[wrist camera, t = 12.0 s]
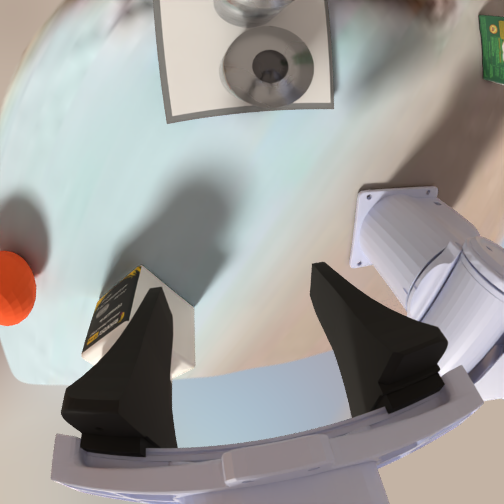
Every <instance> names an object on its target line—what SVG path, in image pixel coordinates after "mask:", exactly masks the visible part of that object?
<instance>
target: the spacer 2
mask: <svg viewBox="0 0 504 504" xmlns="http://www.w3.org/2000/svg"><path fill="white" fill-rule="evenodd" d="M313 75H314V62H313V58H312V55H311V52H310V50H309V48H308V47H307V45H306V44H305V43H304V42H303V41H302V40H301V39H300V38H299V37H298V36H297V35H295V34H294V33H292V32H290V31H288V30H286V29H283V28H280V27H275V26H260V27H255V28H252V29H250V30H247V31H245V32H244V33H242V34H240V35H239V36H238V37H237V38H236V39H235V40H234V41H233V42H232V43H231V45H230V46H229V48H228V49H227V51H226V53H225V54H224V56H223V58H222V60H221V62H220V66H219V76H220V80H221V82H222V85H223V86H224V88H225V89H226V90H227V91H228V92H229V93H230V94H231V95H233V96H234V97H236V98H238V99H240V100H243V101H245V102H247V103H249V104H252V105H254V106H257V107H262V108H279V107H284V106H287V105H289V104H291V103H293V102H295V101H297V100H298V99H299V98H300V97H302V96H303V95H304V94H305V92H306V91H307V90H308V88H309V86H310V84H311V82H312V79H313Z"/></svg>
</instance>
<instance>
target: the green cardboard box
mask: <svg viewBox="0 0 504 504" xmlns="http://www.w3.org/2000/svg"><path fill="white" fill-rule="evenodd" d="M479 20H480V32H481V38H482V50H483V79H484V80H487V81H491V82H494V83H497V84H500V85H503V86H504V17H499V16H489V15H479Z"/></svg>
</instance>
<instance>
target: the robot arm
mask: <svg viewBox="0 0 504 504" xmlns="http://www.w3.org/2000/svg"><path fill="white" fill-rule="evenodd" d="M426 192H427V193H426ZM369 194H370V196H369V197H368V198H367V196H368V195H369ZM437 195H438V188H437V187H435V186H425V187H406V188H390V189H375V190H363V191H360V192H359V193H358V196H357V206H356V215H355V224H354V232H353V240H352V247H351V255H350V261H349V265H350V266H351V268H358V267H363V266H368V265H373V266H374V267H375V268H376V270H377V271H378V272H379V274H380V275H381V276H382V278H383V279H384V280H385V282H386V283H387V285H388V286H389V287H390V289H391V290H392V291H393V293H394V294H395V296H396V297H397V298H398V300H399V301H400V303H401V304H402V305H403V307H404V308H405V310H406V311H407V316H404V315H402V314H400V313H398V312H395V311H393V310H391V309H389V308H387V307H386V306H384V305H382V304H380V303H379V302H377V301H375V300H373V299H372V298H370V297H369V296H367V295H366V294H364V293H363V292H362V291H360V290H359V289H357V288H356V287H355V286H353V285H352V284H351V283H349V282H348V281H347V280H346V279H344V278H343V277H342V276H341V275H339V274H338V273H337V272H336V271H335V270H333V269H332V268H331V267H330V266H329V265H327V264H326V263H325V262H320V263H314V264H312V273H311V287H310V297H311V300H312V303H313V306H314V309H315V312H316V315H317V317H318V319H319V321H320V323H321V325H322V327H323V330H324V332H325V334H326V336H327V338H328V340H329V342H330V344H331V346H332V349H333V351H334V354H335V357H336V359H337V362H338V366H339V369H340V372H341V376H342V379H343V383H344V386H345V390H346V394H347V398H348V402H349V406H350V411H351V415H352V418H350V419H347V420H344V421H341V422H338V423H334V424H331V425H327V426H323V427H319V428H315V429H311V430H307V431H304V432H299V433H294V434H290V435H285V436H280V437H275V438H270V439H264V440H258V441H251V442H244V443H237V444H229V445H219V446H208V447H192V448H178V447H177V442H176V436H175V429H174V422H173V414H172V403H171V388H170V371H171V358H172V346H173V316H172V313H171V310H170V308H169V305H168V302H167V299H166V297H165V294H164V291H163V288H162V287H155V288H150V289H149V290H148V292H147V294H146V295H145V297H144V299H143V301H142V302H141V304H140V306H139V307H138V309H137V311H136V312H135V314H134V316H133V317H132V319H131V320H130V322H129V324H128V325H127V327H126V328H125V329H124V331H123V332H122V334H121V335H120V337H119V338H118V339H117V341H116V342H115V343H114V345H113V346H112V347H111V348H110V349H109V351H108V352H107V353H106V354H105V355H104V356H103V357H102V358H101V359H100V360H99V361H98V362H97V363H96V364H95V365H94V366H93V367H92V368H91V369H90V370H89V371H88V372H87V373H85V374H84V375H83V376H82V377H81V378H79V379H78V380H77V381H75V382H74V383H73V384H72V385H70V386H69V387H68V388H66V391H65V395H64V400H63V405H62V410H61V415H62V417H63V418H64V419H65V420H66V421H67V422H68V423H69V424H70V425H72V426H73V427H74V428H76V429H77V430H79V431H80V432H81V433H82V437H81V439H80V438H78V437H74V436H69V435H63V434H56V438H55V444H54V452H53V460H52V470H51V480H53V481H55V482H57V483H59V484H62V485H64V486H67V487H69V488H72V489H75V490H77V491H80V492H83V493H88V494H92V495H97V496H102V497H107V498H113V499H118V500H125V501H131V502H139V503H148V504H389V501H388V498H387V495H386V492H385V489H384V487H383V483H382V481H381V478H380V475H379V472H378V468H381V467H383V466H385V465H387V464H390V463H392V462H394V461H396V460H398V459H400V458H402V457H404V456H406V455H408V454H410V453H412V452H414V451H416V450H418V449H420V448H422V447H423V446H425V445H427V444H429V443H430V442H432V441H434V440H436V439H437V438H439V437H441V436H442V435H444V434H446V433H447V432H449V431H451V430H452V429H454V428H456V427H457V426H459V425H460V424H461V423H462V422H464V421H465V420H466V419H467V418H468V417H469V416H470V415H472V414H473V413H474V412H475V411H476V410H477V409H478V408H480V406H482V405H483V403H484V401H488V400H493V399H504V248H502V247H501V246H499V245H498V244H496V243H494V242H493V241H491V240H489V239H487V238H484V237H481V236H480V234H479V232H478V230H477V229H476V228H475V226H474V225H473V224H472V223H470V222H469V221H468V220H467V219H465V218H464V217H463V216H462V215H460V214H459V213H458V212H456V211H455V210H454V209H452V208H451V207H450V206H448V205H447V204H446V203H444V202H443V201H441V200H440V199H439V198H437ZM358 262H359V263H358Z"/></svg>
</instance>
